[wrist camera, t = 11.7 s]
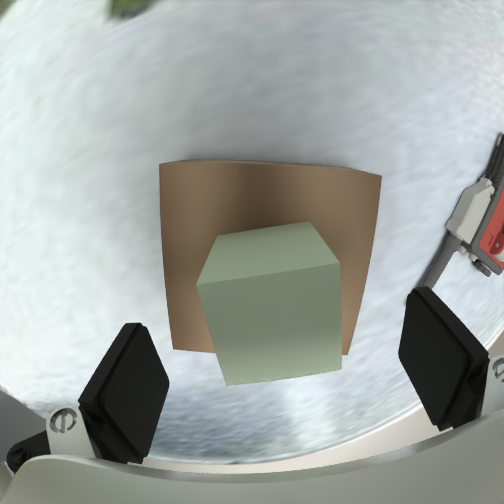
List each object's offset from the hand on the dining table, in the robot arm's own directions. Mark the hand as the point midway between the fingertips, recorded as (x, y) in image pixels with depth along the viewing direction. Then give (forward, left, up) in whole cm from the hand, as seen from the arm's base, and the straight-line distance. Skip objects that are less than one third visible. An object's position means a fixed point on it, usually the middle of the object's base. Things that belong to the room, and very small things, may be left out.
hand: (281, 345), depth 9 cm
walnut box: (0, 0, -13) cm, 13 cm away
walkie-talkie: (-20, +2, -13) cm, 24 cm away
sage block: (0, 0, -7) cm, 7 cm away
